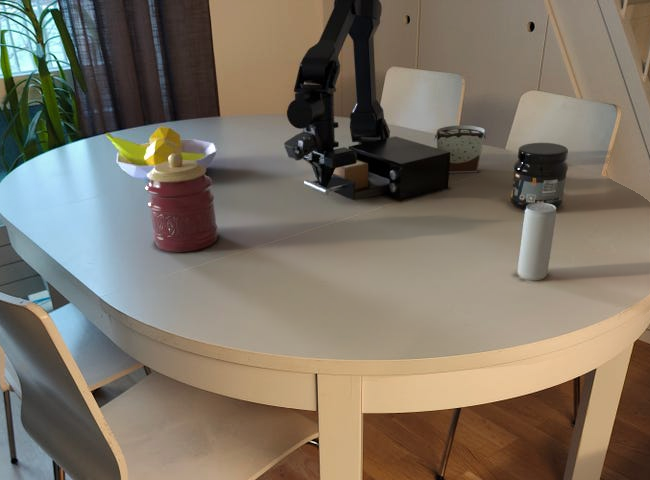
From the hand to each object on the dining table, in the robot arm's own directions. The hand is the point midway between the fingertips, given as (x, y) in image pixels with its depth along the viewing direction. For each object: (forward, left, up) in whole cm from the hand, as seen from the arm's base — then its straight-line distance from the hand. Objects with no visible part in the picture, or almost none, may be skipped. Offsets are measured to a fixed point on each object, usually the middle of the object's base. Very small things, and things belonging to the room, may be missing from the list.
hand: (323, 189), depth 154 cm
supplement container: (+32, +33, -3) cm, 46 cm away
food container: (+1, +39, -3) cm, 39 cm away
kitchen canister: (+3, -35, -3) cm, 35 cm away
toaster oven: (+1, +20, -3) cm, 20 cm away
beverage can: (+56, +6, -3) cm, 56 cm away
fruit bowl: (-46, -20, -3) cm, 50 cm away
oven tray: (0, +7, -2) cm, 7 cm away
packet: (0, +8, -1) cm, 8 cm away
